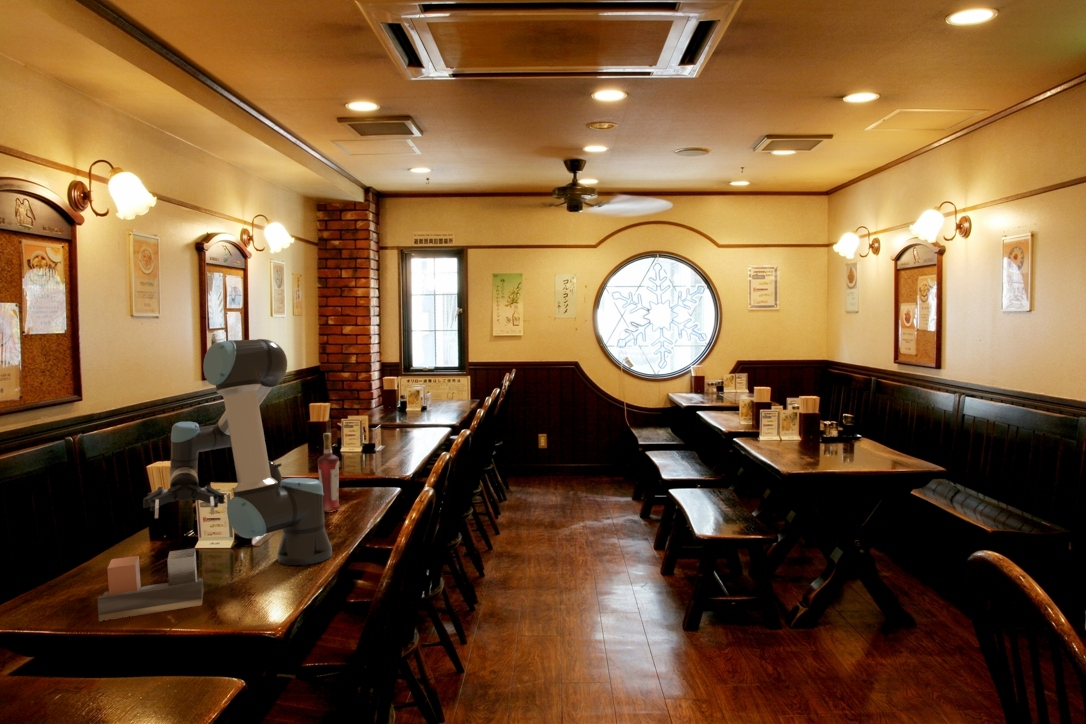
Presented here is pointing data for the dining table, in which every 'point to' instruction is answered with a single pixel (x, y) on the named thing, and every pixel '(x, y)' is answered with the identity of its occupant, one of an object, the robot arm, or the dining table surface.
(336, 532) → the dining table surface
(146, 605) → the base
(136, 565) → the terracotta plunger
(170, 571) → the gray block
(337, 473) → the liquor
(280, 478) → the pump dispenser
